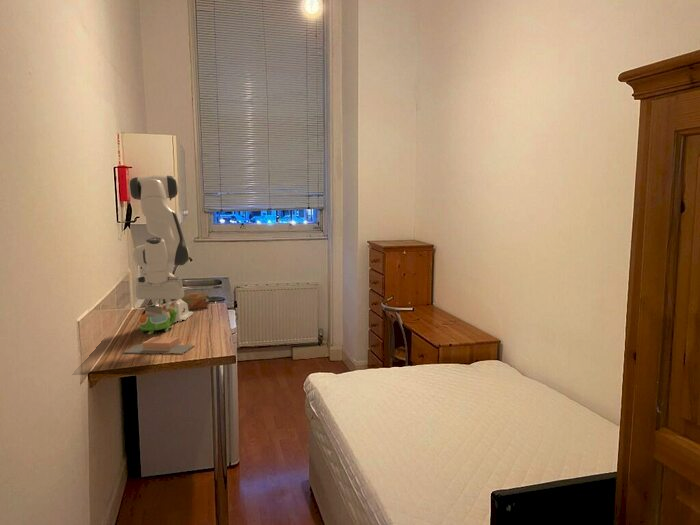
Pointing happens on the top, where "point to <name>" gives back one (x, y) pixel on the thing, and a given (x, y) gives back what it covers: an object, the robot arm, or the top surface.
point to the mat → (177, 350)
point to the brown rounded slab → (196, 300)
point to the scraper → (158, 310)
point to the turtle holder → (157, 321)
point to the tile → (161, 343)
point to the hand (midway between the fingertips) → (162, 309)
